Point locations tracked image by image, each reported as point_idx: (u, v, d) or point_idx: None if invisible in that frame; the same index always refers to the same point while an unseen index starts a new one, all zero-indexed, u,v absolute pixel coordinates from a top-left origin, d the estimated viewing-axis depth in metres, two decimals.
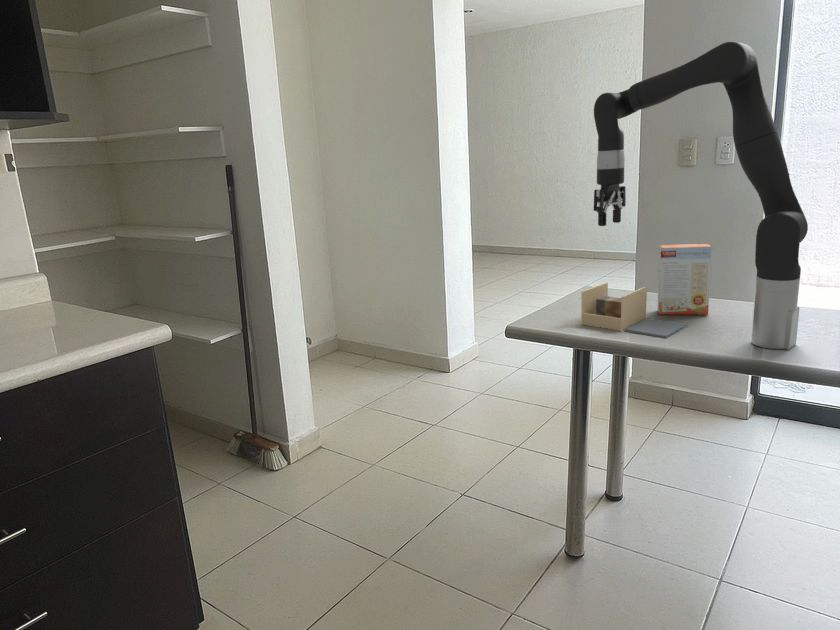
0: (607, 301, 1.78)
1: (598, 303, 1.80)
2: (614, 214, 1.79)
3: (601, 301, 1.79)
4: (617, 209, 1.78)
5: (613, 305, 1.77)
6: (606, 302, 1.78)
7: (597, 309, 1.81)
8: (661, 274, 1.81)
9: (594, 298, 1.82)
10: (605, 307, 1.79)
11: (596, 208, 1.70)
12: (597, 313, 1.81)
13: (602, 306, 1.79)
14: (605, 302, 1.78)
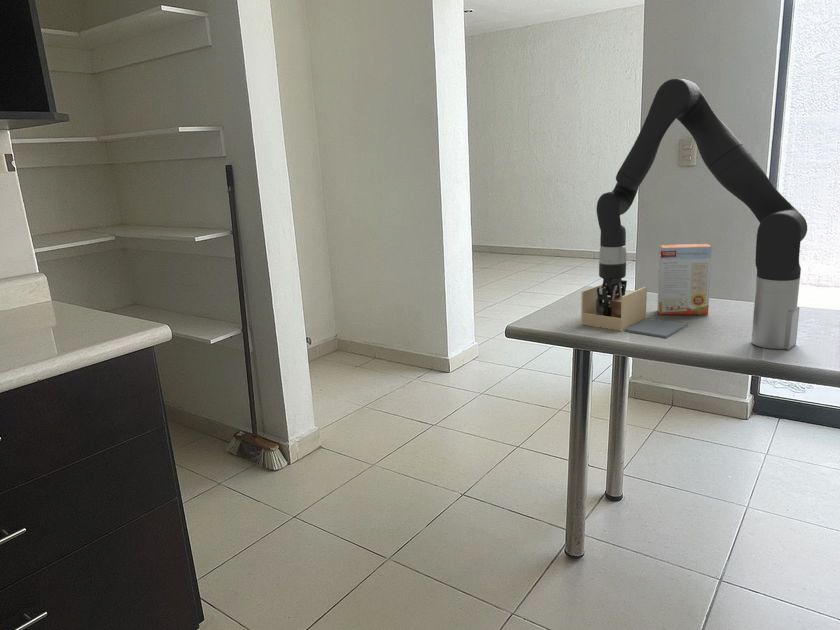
0: None
1: (598, 303, 1.80)
2: None
3: None
4: None
5: (613, 305, 1.77)
6: None
7: (597, 309, 1.81)
8: (661, 274, 1.81)
9: (594, 298, 1.82)
10: None
11: (601, 304, 1.76)
12: (597, 313, 1.81)
13: None
14: None
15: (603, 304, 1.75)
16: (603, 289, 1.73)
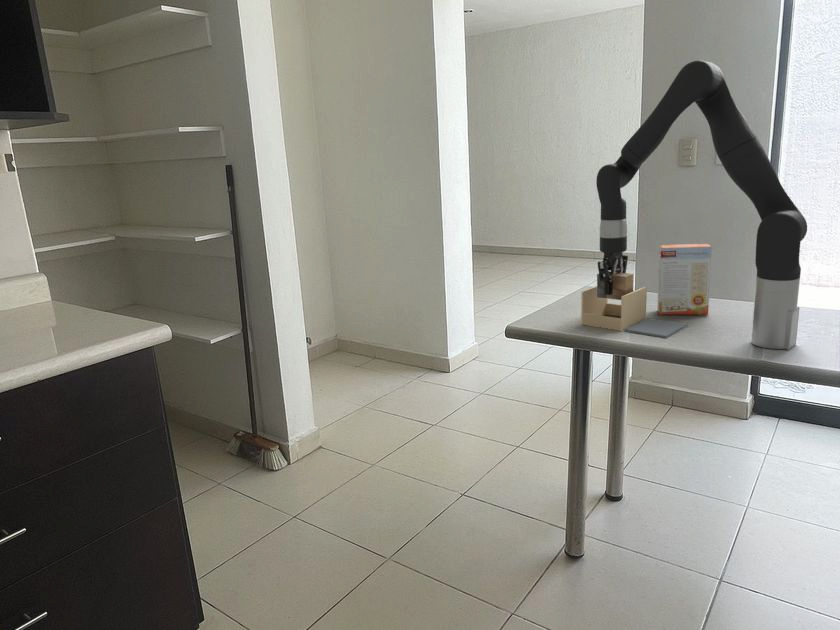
0: None
1: (599, 278, 1.78)
2: None
3: None
4: None
5: (614, 279, 1.75)
6: None
7: (598, 284, 1.79)
8: (661, 274, 1.81)
9: (594, 298, 1.82)
10: None
11: (602, 278, 1.74)
12: (598, 288, 1.79)
13: None
14: None
15: (604, 278, 1.73)
16: (604, 263, 1.71)
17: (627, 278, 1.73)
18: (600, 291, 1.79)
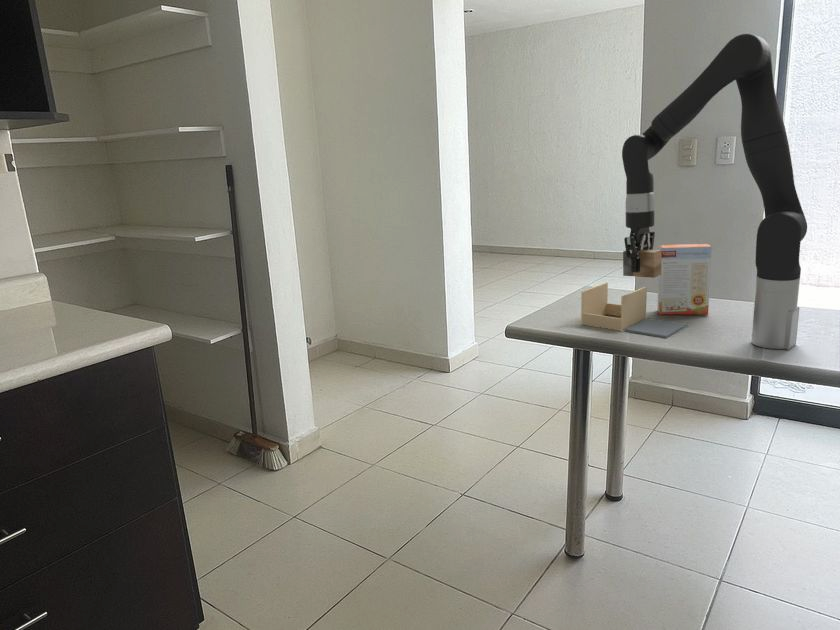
0: None
1: (625, 255, 1.71)
2: None
3: None
4: None
5: (641, 256, 1.67)
6: None
7: (624, 262, 1.71)
8: (661, 274, 1.81)
9: (594, 298, 1.82)
10: None
11: (629, 255, 1.66)
12: (624, 266, 1.71)
13: (629, 258, 1.70)
14: None
15: (631, 255, 1.66)
16: (631, 238, 1.64)
17: (656, 254, 1.65)
18: (626, 269, 1.71)
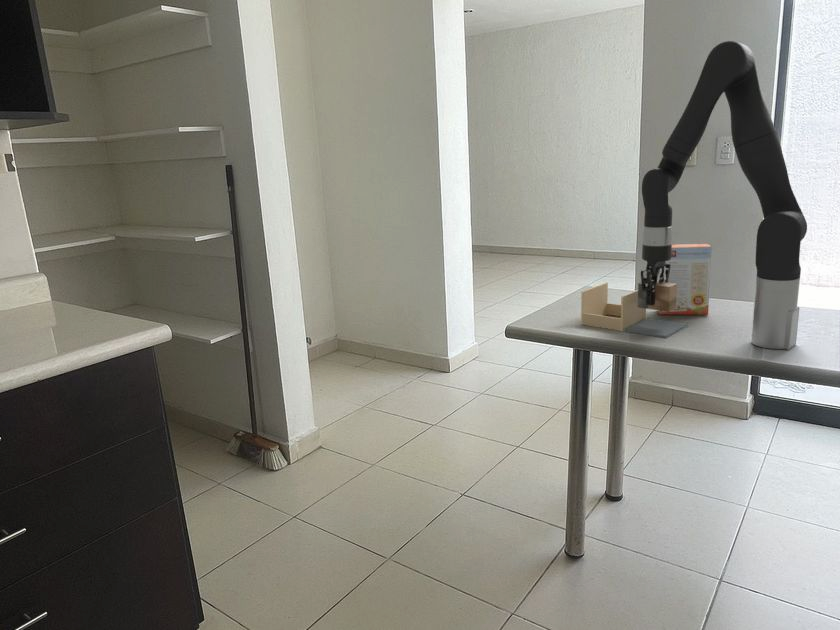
0: None
1: (640, 287, 1.69)
2: None
3: None
4: None
5: (657, 289, 1.66)
6: None
7: (639, 294, 1.70)
8: None
9: (594, 298, 1.82)
10: None
11: (645, 288, 1.65)
12: (639, 298, 1.70)
13: None
14: None
15: (647, 288, 1.65)
16: (648, 272, 1.62)
17: (671, 289, 1.64)
18: (641, 301, 1.70)
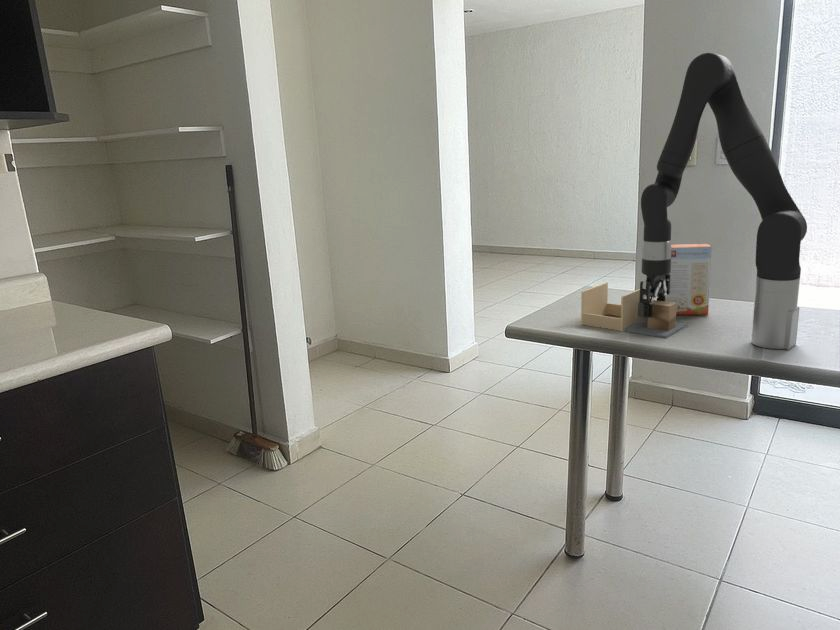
0: None
1: (640, 307, 1.71)
2: None
3: (643, 304, 1.70)
4: (661, 298, 1.72)
5: (656, 309, 1.67)
6: None
7: (639, 313, 1.71)
8: None
9: (594, 298, 1.82)
10: None
11: (642, 300, 1.65)
12: (639, 317, 1.72)
13: None
14: None
15: (644, 301, 1.65)
16: (647, 283, 1.63)
17: (671, 308, 1.66)
18: (641, 320, 1.71)
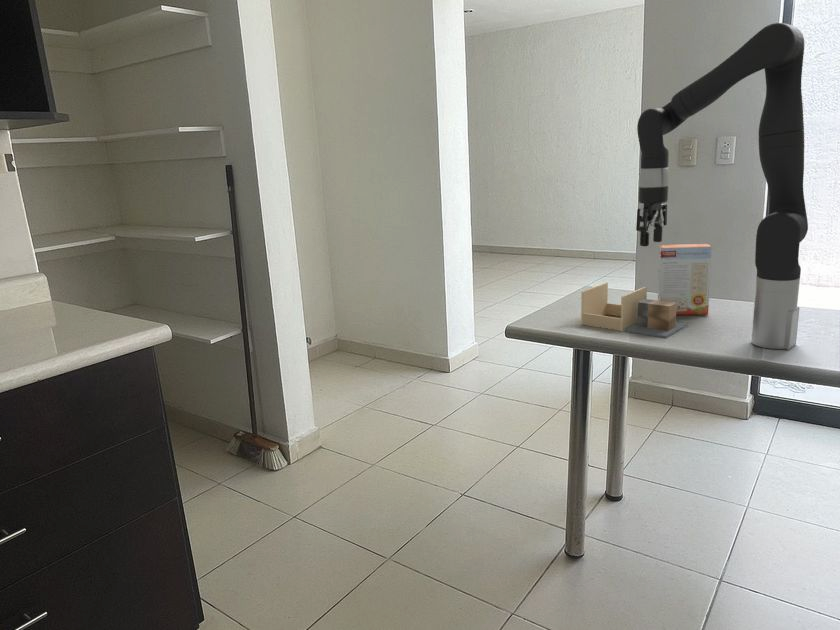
0: (650, 305, 1.68)
1: (640, 307, 1.71)
2: (655, 233, 1.72)
3: (643, 304, 1.70)
4: (658, 228, 1.71)
5: (656, 309, 1.67)
6: (649, 306, 1.69)
7: (639, 313, 1.71)
8: (661, 274, 1.81)
9: (594, 298, 1.82)
10: (648, 311, 1.69)
11: (639, 228, 1.64)
12: (639, 317, 1.72)
13: (644, 309, 1.70)
14: (648, 306, 1.69)
15: (641, 228, 1.63)
16: (645, 209, 1.62)
17: (671, 308, 1.66)
18: (641, 320, 1.71)
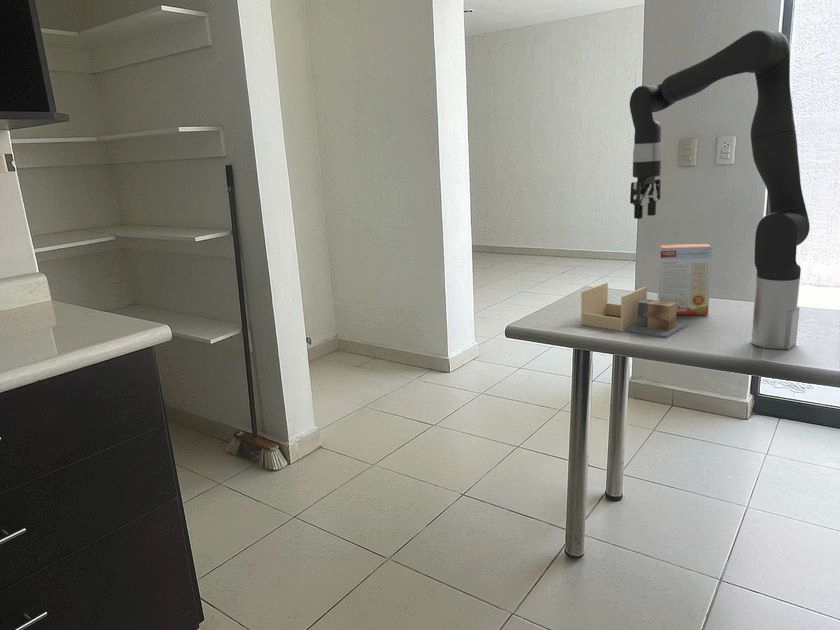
0: (650, 305, 1.68)
1: (640, 307, 1.71)
2: (649, 207, 1.79)
3: (643, 304, 1.70)
4: (652, 202, 1.78)
5: (656, 309, 1.67)
6: (649, 306, 1.69)
7: (639, 313, 1.71)
8: (661, 274, 1.81)
9: (594, 298, 1.82)
10: (648, 311, 1.69)
11: (633, 201, 1.71)
12: (639, 317, 1.72)
13: (644, 309, 1.70)
14: (648, 306, 1.69)
15: (635, 201, 1.70)
16: (638, 182, 1.69)
17: (671, 308, 1.66)
18: (641, 320, 1.71)
